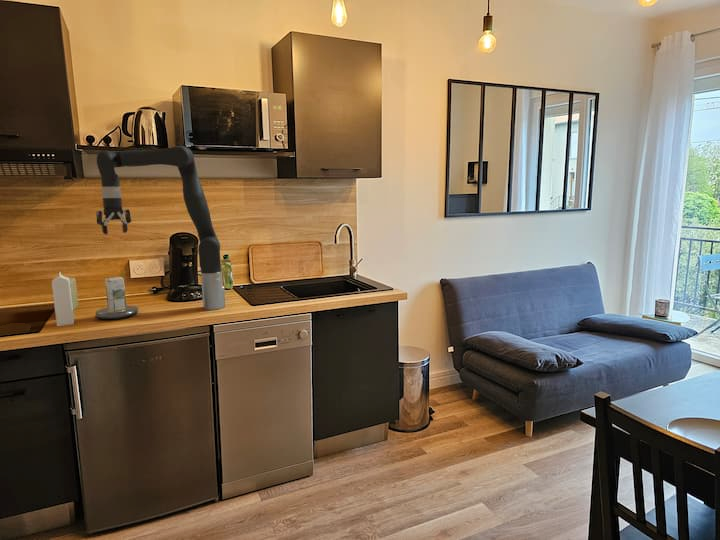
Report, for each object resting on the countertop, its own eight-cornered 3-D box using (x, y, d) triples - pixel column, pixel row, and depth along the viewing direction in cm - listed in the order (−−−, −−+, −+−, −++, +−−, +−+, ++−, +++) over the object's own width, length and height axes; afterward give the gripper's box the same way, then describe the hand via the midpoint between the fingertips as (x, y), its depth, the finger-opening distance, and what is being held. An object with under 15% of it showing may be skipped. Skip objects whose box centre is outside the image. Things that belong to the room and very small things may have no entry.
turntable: (126, 307, 228) (126, 303, 228) (145, 312, 218) (145, 308, 218) (88, 314, 215) (88, 311, 215) (107, 321, 205) (106, 317, 205)
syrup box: (120, 307, 221) (117, 276, 218) (127, 309, 217) (123, 277, 214) (107, 310, 216) (104, 278, 214) (114, 312, 213) (110, 279, 210)
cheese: (75, 317, 215) (72, 284, 212) (49, 320, 211) (45, 286, 208) (79, 307, 234) (75, 276, 232) (55, 309, 230) (51, 278, 228)
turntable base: (124, 311, 225) (124, 309, 225) (137, 315, 218) (137, 312, 218) (97, 316, 216) (97, 314, 215) (110, 321, 208) (110, 318, 208)
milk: (57, 326, 202) (50, 274, 198) (58, 322, 207) (51, 272, 203) (73, 324, 204) (67, 272, 200) (74, 320, 210) (68, 270, 206)
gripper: (99, 197, 209) (103, 235, 212) (131, 196, 220) (135, 232, 223) (91, 197, 213) (95, 234, 216) (123, 196, 224) (126, 231, 227)
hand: (115, 233), depth 219 cm, fingers open, 8 cm apart
